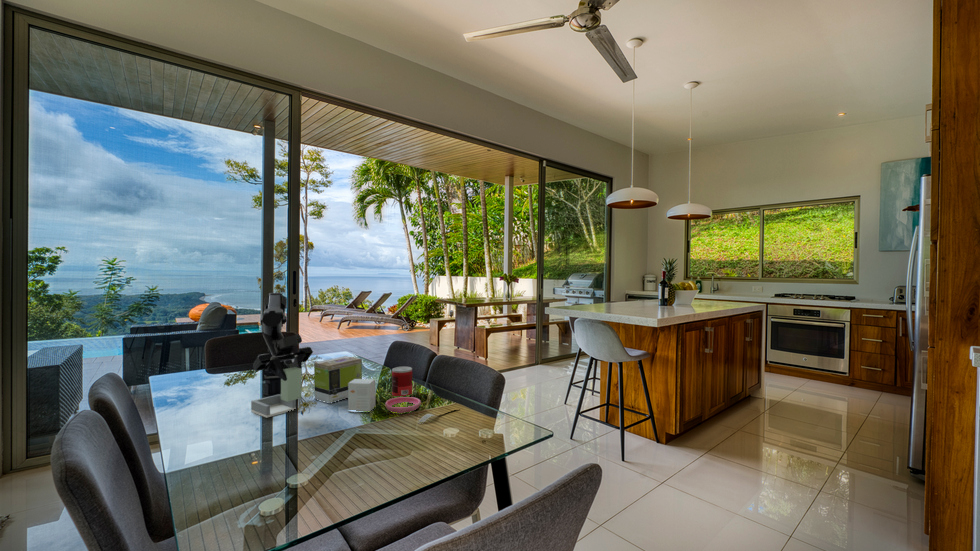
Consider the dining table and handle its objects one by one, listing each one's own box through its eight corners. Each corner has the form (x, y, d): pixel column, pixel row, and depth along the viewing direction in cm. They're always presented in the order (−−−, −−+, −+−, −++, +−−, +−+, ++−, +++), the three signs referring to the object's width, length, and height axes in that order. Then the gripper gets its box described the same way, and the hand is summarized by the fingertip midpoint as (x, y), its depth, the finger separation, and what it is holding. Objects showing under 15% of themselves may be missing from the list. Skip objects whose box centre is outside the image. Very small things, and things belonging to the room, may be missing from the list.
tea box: (347, 390, 175) (347, 355, 175) (362, 395, 169) (362, 358, 169) (313, 399, 163) (313, 361, 163) (329, 405, 157) (329, 365, 157)
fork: (462, 416, 154) (463, 408, 154) (420, 426, 137) (420, 418, 138) (456, 415, 156) (457, 407, 156) (414, 424, 139) (414, 416, 139)
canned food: (415, 394, 171) (415, 367, 171) (405, 400, 163) (405, 371, 163) (398, 392, 173) (399, 365, 173) (388, 398, 166) (388, 370, 166)
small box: (375, 408, 154) (375, 379, 154) (369, 413, 148) (370, 383, 148) (354, 407, 155) (354, 378, 155) (347, 412, 149) (347, 382, 149)
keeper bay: (251, 411, 149) (251, 400, 149) (280, 404, 157) (280, 393, 157) (266, 417, 143) (266, 406, 143) (295, 409, 152) (295, 398, 152)
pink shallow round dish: (401, 418, 144) (401, 409, 144) (377, 411, 151) (377, 402, 151) (427, 409, 154) (427, 400, 154) (404, 402, 161) (404, 394, 161)
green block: (280, 399, 143) (281, 369, 143) (294, 395, 147) (295, 366, 147) (287, 401, 141) (287, 371, 141) (301, 397, 145) (301, 368, 145)
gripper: (257, 330, 138) (275, 369, 132) (310, 324, 153) (328, 358, 147) (245, 351, 143) (262, 390, 137) (297, 343, 158) (314, 377, 152)
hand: (293, 378), depth 143 cm, fingers closed on green block, 5 cm apart
